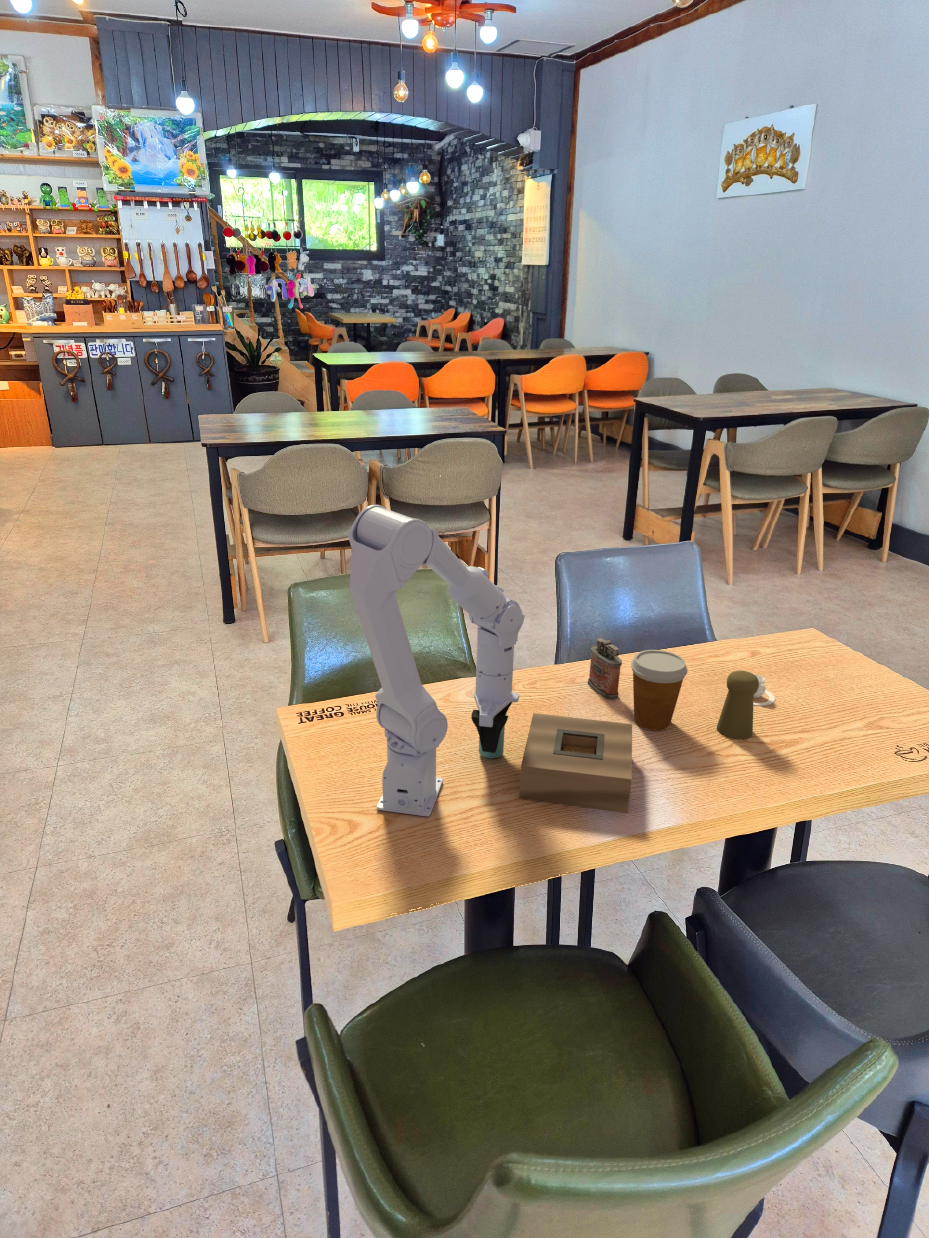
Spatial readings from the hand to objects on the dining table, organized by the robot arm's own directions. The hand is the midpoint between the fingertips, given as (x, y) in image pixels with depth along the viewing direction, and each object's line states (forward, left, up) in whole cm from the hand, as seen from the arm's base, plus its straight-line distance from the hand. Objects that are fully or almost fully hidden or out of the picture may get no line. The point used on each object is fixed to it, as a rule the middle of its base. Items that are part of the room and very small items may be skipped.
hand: (491, 743), depth 133 cm
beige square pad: (-3, -14, +1) cm, 14 cm away
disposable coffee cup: (+17, -26, -2) cm, 31 cm away
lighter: (+27, -17, -2) cm, 32 cm away
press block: (-3, -14, -2) cm, 14 cm away
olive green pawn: (+17, -40, -2) cm, 44 cm away
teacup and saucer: (+34, -46, -3) cm, 58 cm away
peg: (0, 0, -2) cm, 2 cm away
